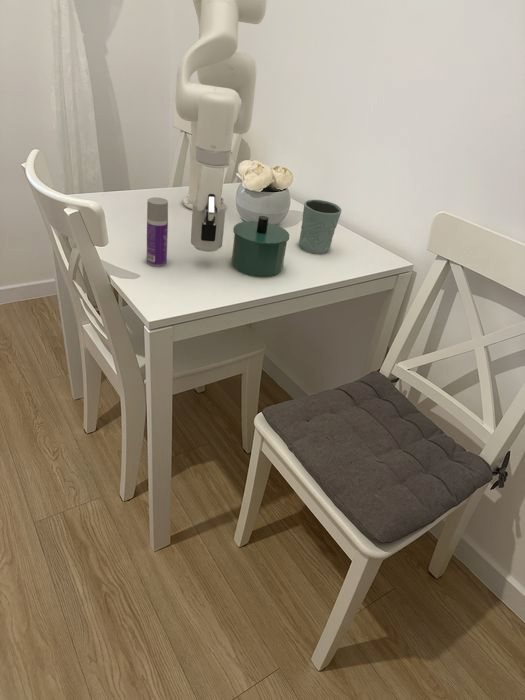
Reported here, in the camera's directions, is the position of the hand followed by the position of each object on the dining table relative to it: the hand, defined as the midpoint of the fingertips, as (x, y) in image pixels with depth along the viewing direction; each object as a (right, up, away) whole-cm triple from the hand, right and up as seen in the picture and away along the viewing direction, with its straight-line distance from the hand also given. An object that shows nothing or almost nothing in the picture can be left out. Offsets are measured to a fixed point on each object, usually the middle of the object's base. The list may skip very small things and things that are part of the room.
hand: (207, 233), depth 120 cm
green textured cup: (+27, +1, +22) cm, 35 cm away
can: (-1, -3, +2) cm, 4 cm away
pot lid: (+13, +1, +3) cm, 13 cm away
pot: (+12, -6, +8) cm, 15 cm away
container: (-12, -7, +2) cm, 14 cm away
